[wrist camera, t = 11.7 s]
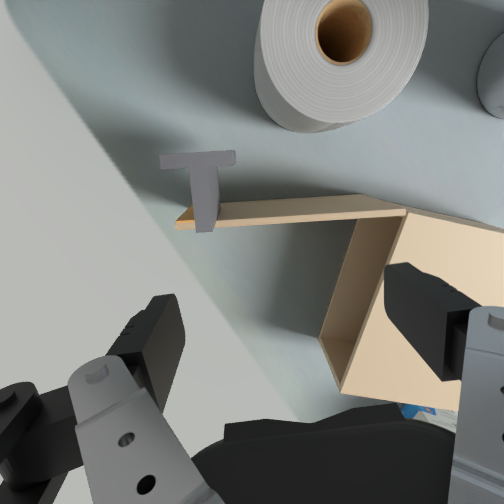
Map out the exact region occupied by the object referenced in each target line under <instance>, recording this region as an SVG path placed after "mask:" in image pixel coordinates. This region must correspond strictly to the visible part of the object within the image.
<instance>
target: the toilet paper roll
mask: <svg viewBox="0 0 504 504" xmlns="http://www.w3.org/2000/svg"><path fill="white" fill-rule="evenodd" d="M428 20H429V7H428V0H264V3H263V7H262V11H261V15H260V19H259V23H258V29H257V35H256V41H255V48H254V81H255V88H256V92H257V95H258V98H259V100H260V103H261V105H262V106H263V108H264V110H265V111H266V113H267V114H268V115H269V116H270V117H271V118H272V119H273V120H274V121H275V122H276V123H277V124H279V125H280V126H282V127H284V128H286V129H288V130H291V131H294V132H298V133H316V132H323V131H328V130H333V129H337V128H340V127H343V126H345V125H348V124H351V123H353V122H356V121H358V120H360V119H363V118H365V117H367V116H370V115H372V114H374V113H375V112H377V111H379V110H380V109H382V108H383V107H385V106H386V105H387V104H388V103H389V102H391V101H392V100H393V99H394V98H395V97H396V96H397V95H398V94H399V93H400V91H401V90H402V89H403V88H404V87H405V85H406V84H407V82H408V81H409V80H410V78H411V76H412V75H413V73H414V71H415V69H416V67H417V65H418V63H419V60H420V58H421V55H422V52H423V49H424V46H425V41H426V37H427V31H428Z"/></svg>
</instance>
